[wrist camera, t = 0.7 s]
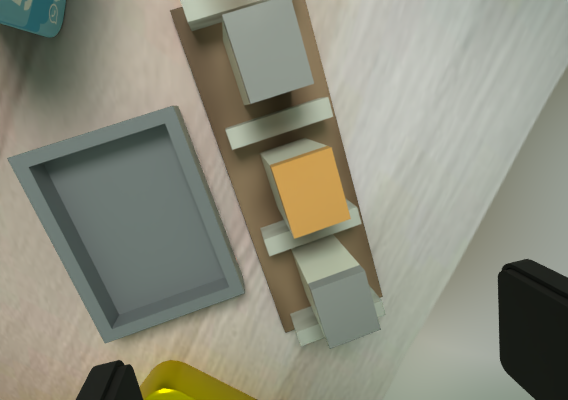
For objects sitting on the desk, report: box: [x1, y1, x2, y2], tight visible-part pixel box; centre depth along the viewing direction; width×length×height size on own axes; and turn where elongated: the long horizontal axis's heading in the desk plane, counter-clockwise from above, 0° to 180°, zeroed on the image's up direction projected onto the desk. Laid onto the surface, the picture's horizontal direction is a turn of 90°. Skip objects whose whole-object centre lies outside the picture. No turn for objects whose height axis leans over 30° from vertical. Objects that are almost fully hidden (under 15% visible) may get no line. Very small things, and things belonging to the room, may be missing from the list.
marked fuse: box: [260, 138, 351, 239], centre depth 27 cm, size 4×5×8 cm
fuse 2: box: [291, 234, 381, 349], centre depth 30 cm, size 4×5×8 cm
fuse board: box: [170, 0, 385, 346], centre depth 30 cm, size 10×29×4 cm, turn 17°
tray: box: [7, 106, 245, 343], centre depth 30 cm, size 12×16×3 cm
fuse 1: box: [222, 0, 314, 105], centre depth 25 cm, size 4×5×8 cm
